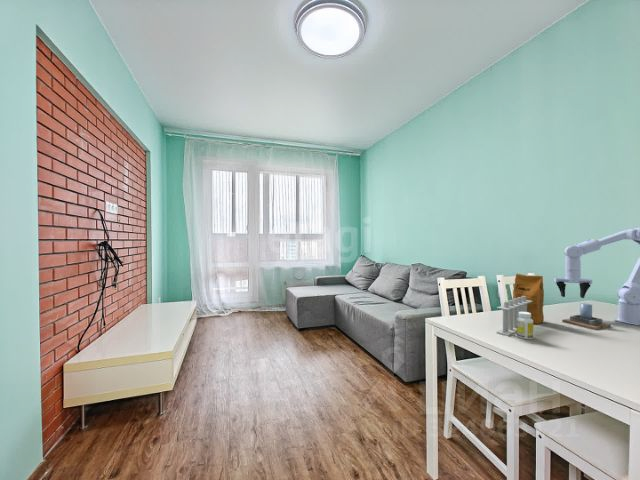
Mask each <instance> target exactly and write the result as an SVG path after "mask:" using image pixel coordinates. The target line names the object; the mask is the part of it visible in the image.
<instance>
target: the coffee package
mask: <svg viewBox="0 0 640 480" xmlns="http://www.w3.org/2000/svg"><path fill="white" fill-rule="evenodd" d="M543 278H544V277H543V275H526V274H521V273H515V278H514V284H513V290H512V300H513V299H517V298H518V297H522V296H526V300H530V301H533V302H531V303H528V304H527V312H529V313H531V317H530V318H531V319H532V320H533V325H534V324H535V325H540V324H541V323H542V322H544V321H545V320H544V319H545V318H544V299H545V298H544V297H545V291H544V282H543Z"/></svg>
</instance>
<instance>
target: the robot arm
mask: <svg viewBox="0 0 640 480" xmlns="http://www.w3.org/2000/svg"><path fill="white" fill-rule="evenodd" d="M622 240H630V241H631V240H632V241H633V242H635V243H636V244H637V245H639V246H640V227H638V226H637V227H633V228H628V229H625V230H622V231H621V230H620V231H619V232H616V233H612V234H610V235H607V236H605V237H602V238H599V239H595V238H587V239H586V240H585V241H583V242H580V243H574V245H570V246H567V247H566V248H564V251H563V253H564V255H565V261H564V263H565V264H564V266H565V267H564V271H565V272H564V277H553V280H554V281H553V282H555V285H556V286H557V288H558V290H559V292H560V296H561V297H563V298H566V286H567V284H566V283H569V284H570V283H571V284H573V283H574V284H579V291H580V293H579V296H580V298H581V299H585V296H586V294H587V292H588V290H589V289H590V288H591V285H593V279H590V278H581V272H582V271H581V269H582V268H581V267H582V266H581V257H582V256H583V255H587V254H590V253H593V252H596V251H600V250H601V248H602V247H604V246H607V245H610V244H612V243H617V242H620V241H622ZM616 295H617V297H618V298H619V299H618V307H617V308H618V309H617V318H613V321H615V322H619V323H624V324H628V325H633V326H634V325H635V326H639V325H640V256H639V257H638V259H637V261H636V263H635V265H634V267H633V269H632V271H631V272H630V276H629V277H628V279H627V281H626V282H624V283H623V285H622V286H621V287H619V288H618V289H617V290H616Z"/></svg>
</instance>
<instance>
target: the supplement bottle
mask: <svg viewBox="0 0 640 480" xmlns="http://www.w3.org/2000/svg"><path fill="white" fill-rule="evenodd" d="M530 317H531V313H529V312H519V317H518V318H517V333H516V336H517V337H518V338H520V339H524V340H533V339H534V323H533V320H532V319H531V318H530Z"/></svg>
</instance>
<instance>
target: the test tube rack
mask: <svg viewBox="0 0 640 480" xmlns="http://www.w3.org/2000/svg"><path fill="white" fill-rule="evenodd" d="M531 302H533V301H530V300H526V296H522V297H518V298H517V299H513V298H512V299H508V301H505V300H504V302H503V304H502V305H500V306H497V307H496V309H498V310H499V309H500V310H502V329H499V330H497V331H496V334H497V335H502V336H505V337H511V336H512V335H514V334H515V335H516V334H517V318H518V317H519V312H527V304H528V303H531Z"/></svg>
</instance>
